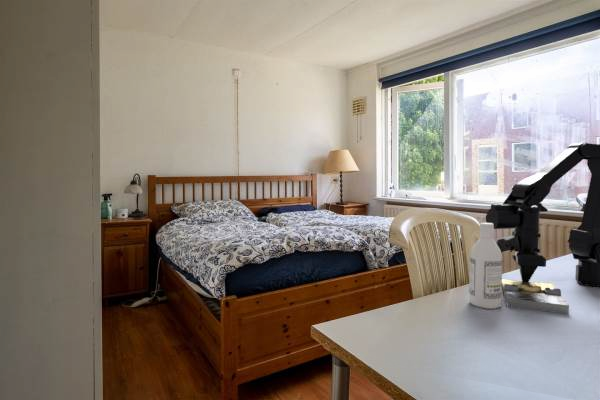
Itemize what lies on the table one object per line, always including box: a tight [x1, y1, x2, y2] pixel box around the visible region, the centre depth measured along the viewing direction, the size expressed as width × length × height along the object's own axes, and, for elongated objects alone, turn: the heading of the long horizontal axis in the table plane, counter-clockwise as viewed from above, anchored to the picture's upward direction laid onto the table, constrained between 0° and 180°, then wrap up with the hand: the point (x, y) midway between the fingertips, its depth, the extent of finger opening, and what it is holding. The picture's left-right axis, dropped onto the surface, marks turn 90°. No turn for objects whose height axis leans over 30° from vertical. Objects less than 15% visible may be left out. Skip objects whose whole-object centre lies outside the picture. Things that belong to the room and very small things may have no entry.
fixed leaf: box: [503, 284, 570, 315], centre depth 89 cm, size 12×9×3 cm
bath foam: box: [468, 222, 503, 310], centre depth 89 cm, size 7×7×20 cm
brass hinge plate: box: [501, 279, 556, 294], centre depth 96 cm, size 12×9×3 cm
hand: (524, 283), depth 102 cm, fingers closed
